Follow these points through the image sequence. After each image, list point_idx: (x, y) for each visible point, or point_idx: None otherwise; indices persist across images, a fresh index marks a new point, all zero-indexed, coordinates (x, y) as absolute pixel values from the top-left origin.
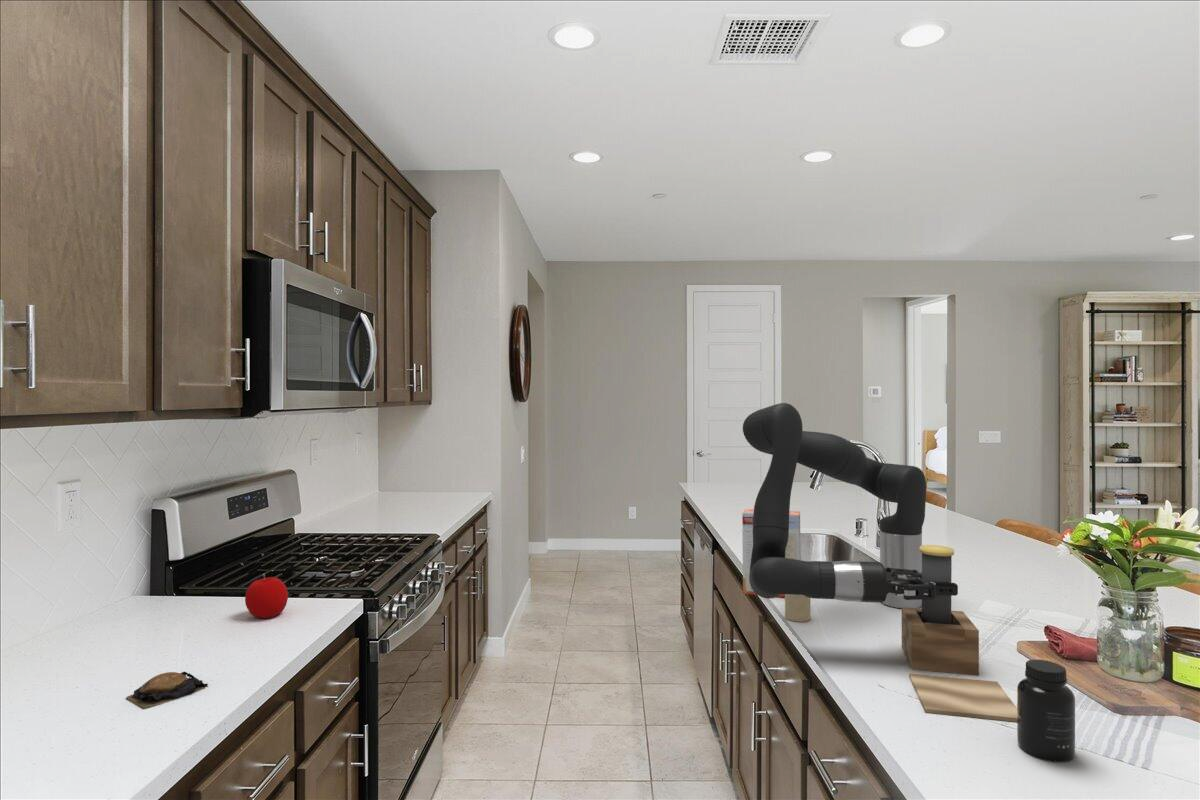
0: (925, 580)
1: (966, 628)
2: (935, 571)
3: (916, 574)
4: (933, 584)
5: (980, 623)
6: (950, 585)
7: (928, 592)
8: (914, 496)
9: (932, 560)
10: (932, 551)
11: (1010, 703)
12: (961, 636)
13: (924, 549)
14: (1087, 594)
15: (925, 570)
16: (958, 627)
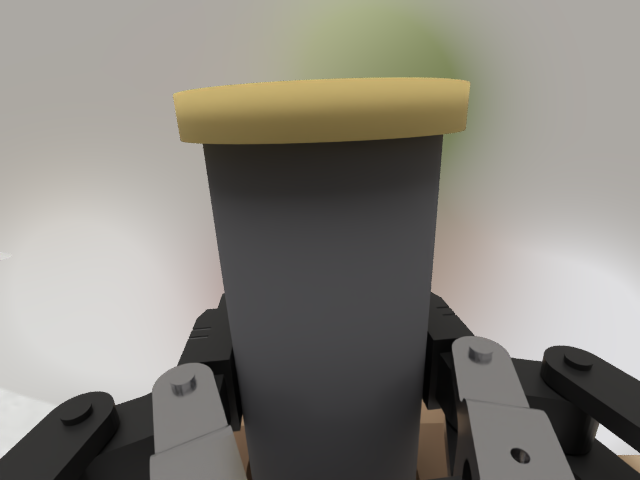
0: (389, 389)
1: (439, 415)
2: (432, 267)
3: (225, 421)
4: (582, 351)
5: (24, 396)
6: None
7: (582, 438)
8: None
9: (436, 186)
10: (469, 86)
11: (637, 462)
12: None
13: (429, 78)
14: (3, 255)
15: (392, 311)
16: (444, 440)
